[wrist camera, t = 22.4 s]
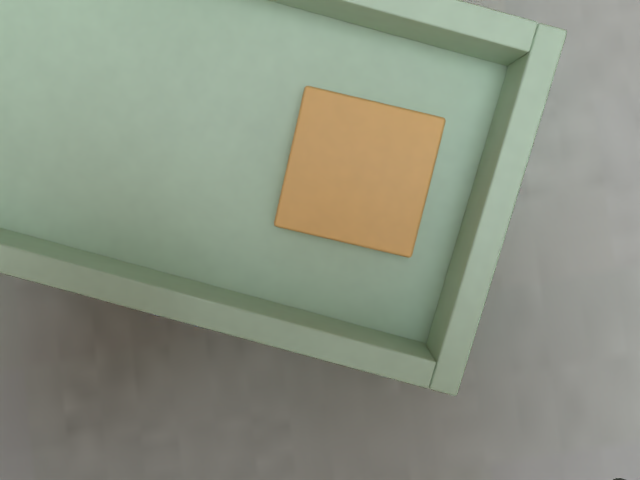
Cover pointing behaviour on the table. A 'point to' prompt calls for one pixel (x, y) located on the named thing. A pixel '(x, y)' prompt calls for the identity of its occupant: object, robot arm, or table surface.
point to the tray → (262, 165)
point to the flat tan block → (359, 171)
